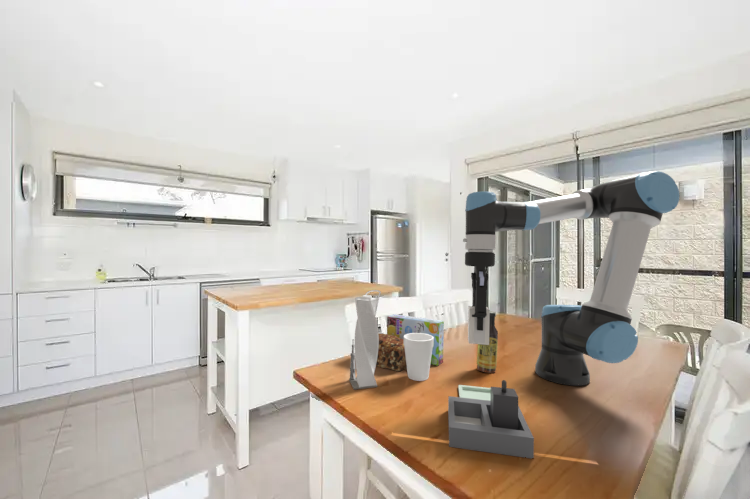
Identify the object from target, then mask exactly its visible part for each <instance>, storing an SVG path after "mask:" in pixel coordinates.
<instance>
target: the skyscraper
mask: <svg viewBox="0 0 750 499" xmlns="http://www.w3.org/2000/svg"><path fill="white" fill-rule="evenodd" d="M372 292H373V293H374V292H377V293H378V296H377V297H373V296H372V295H370V293H372ZM381 293H382V291H381V290H378V289H371V290H368V291H367V292H365V294H363V295H361V296H357V297H355V298H354V302H355V309H356V310H355V311H356V317H357V318H356V322H355V330H354V339H352V344H351V353H350V364H349V365H350V366H349V378H348V380H349V382H350V385H351V388H352V389H353V390H363V389H370V388H378V384H377V381H376V378H375V371H376V367H377V366H376V363H377V357H378V348H379V334H380V333H379V328H378V327H379V326H378V322H377V317H376V315H377V311H378V305H379V299H380V296H381ZM378 333H379V334H378Z"/></svg>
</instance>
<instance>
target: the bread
mask: <svg viewBox="0 0 750 499" xmlns="http://www.w3.org/2000/svg"><path fill="white" fill-rule="evenodd" d="M378 334H379V348H378V357H377V363H376V367H378V368H381V369H389V370H392V371H394V372H401V371H403V370H405V369H406V368H407V365H406V356H405V348H404V339H401V338H398V337H397V336H393V335H388V334H387V333H379V332H378Z"/></svg>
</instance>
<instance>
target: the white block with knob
mask: <svg viewBox="0 0 750 499" xmlns="http://www.w3.org/2000/svg"><path fill="white" fill-rule="evenodd" d="M467 309H468V312H467V314H468V316H467V342H468V344H471V345H472V344H473V345H478V344H483V345H489V323H490V311H491V310H490V308H489V307H488V306H486V313H487V315H486V317H485V343H477V342H474V317H472V315H474V314H475V306H472V305H468V308H467ZM481 312H482V311H481Z"/></svg>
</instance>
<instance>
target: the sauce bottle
mask: <svg viewBox="0 0 750 499" xmlns="http://www.w3.org/2000/svg"><path fill="white" fill-rule="evenodd" d="M496 315H497V313H496V312H495V311H491V310H490V323H489V345H483V344H477V352H476V369H477V370H478V371H479V372H482V373H485V374H494V373H495V372H496V370H497V360H498V359H497V358H498V341H499V336H498V335H499V334H498V330H497V327H496V326H495V325H496V323H495V321H496Z"/></svg>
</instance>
